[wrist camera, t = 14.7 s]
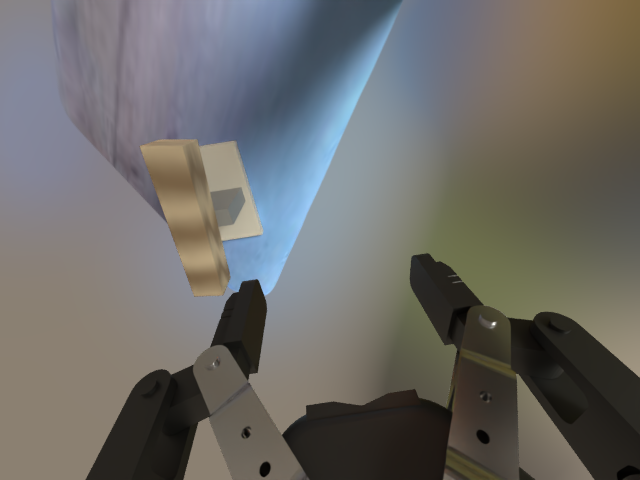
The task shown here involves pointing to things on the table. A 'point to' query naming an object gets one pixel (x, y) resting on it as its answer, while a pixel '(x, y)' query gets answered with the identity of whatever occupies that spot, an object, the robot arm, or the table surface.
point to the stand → (230, 191)
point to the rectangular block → (189, 212)
